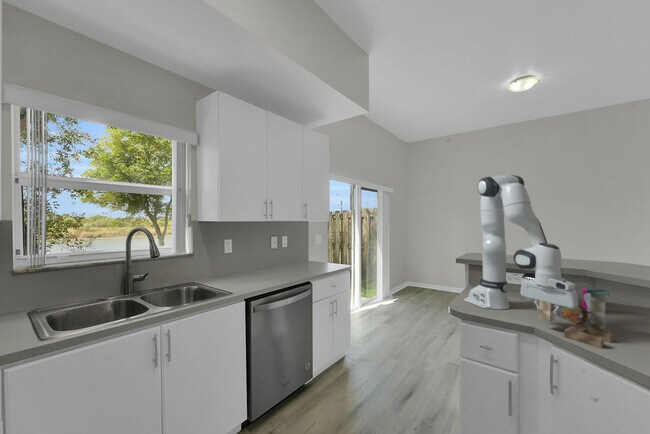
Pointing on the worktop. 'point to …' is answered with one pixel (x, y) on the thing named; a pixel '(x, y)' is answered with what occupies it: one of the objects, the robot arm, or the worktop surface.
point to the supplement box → (586, 300)
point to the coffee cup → (531, 275)
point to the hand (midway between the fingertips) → (546, 312)
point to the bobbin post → (597, 307)
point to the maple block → (546, 310)
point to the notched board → (588, 335)
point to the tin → (573, 314)
